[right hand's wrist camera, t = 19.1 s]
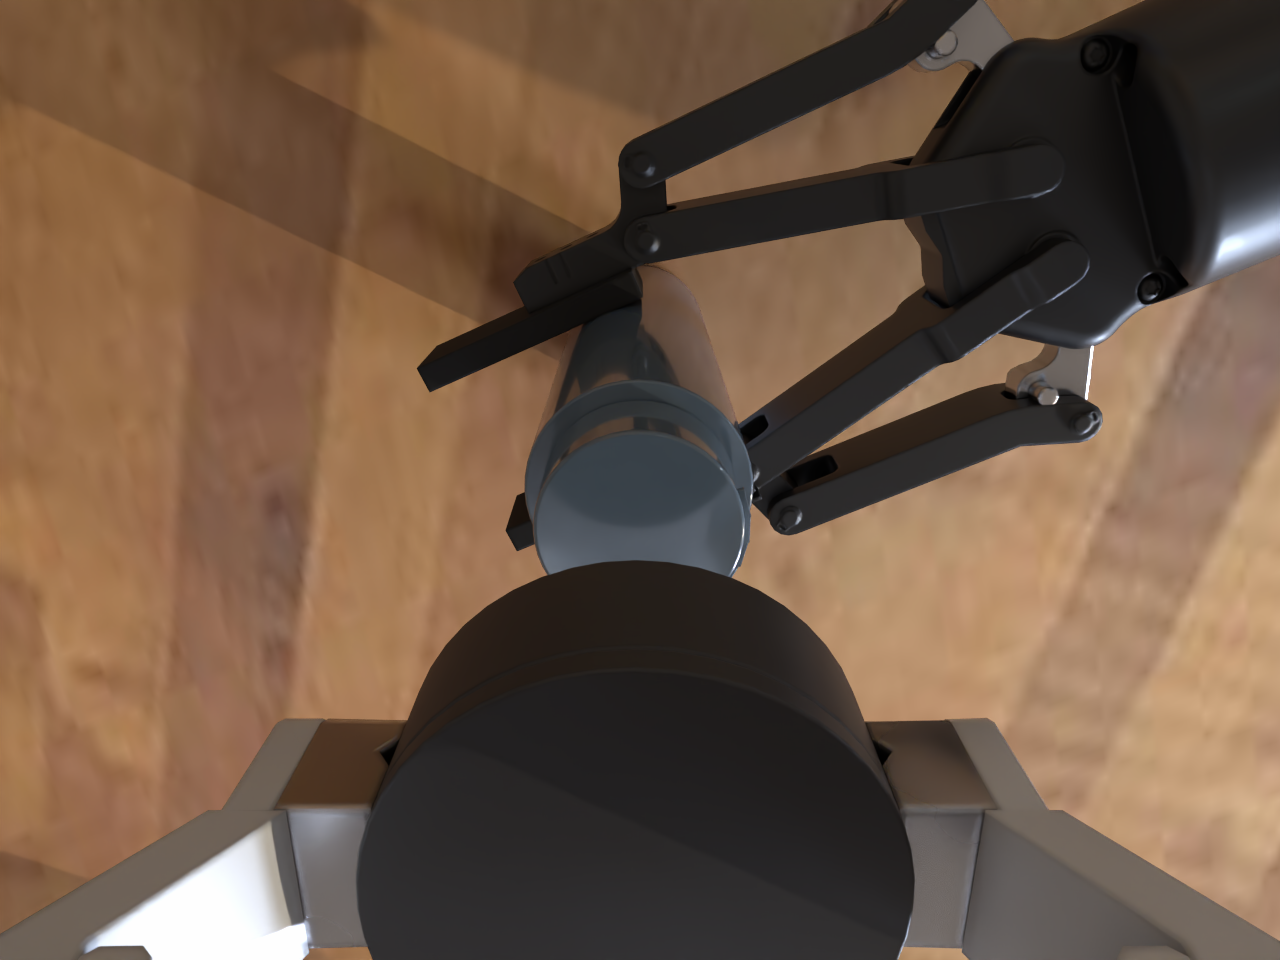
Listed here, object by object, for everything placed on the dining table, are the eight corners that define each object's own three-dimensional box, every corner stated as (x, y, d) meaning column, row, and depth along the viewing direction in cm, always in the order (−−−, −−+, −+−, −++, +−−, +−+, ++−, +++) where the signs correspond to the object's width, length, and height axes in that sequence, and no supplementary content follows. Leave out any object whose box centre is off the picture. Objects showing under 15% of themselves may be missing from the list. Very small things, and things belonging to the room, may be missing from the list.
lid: (955, 761, 11) (1030, 909, 9) (637, 997, 12) (636, 1174, 10) (635, 460, 9) (635, 550, 7) (316, 762, 11) (240, 910, 9)
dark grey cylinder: (593, 406, 34) (553, 665, 18) (557, 284, 32) (477, 446, 16) (715, 375, 33) (788, 611, 17) (685, 249, 32) (736, 381, 15)
